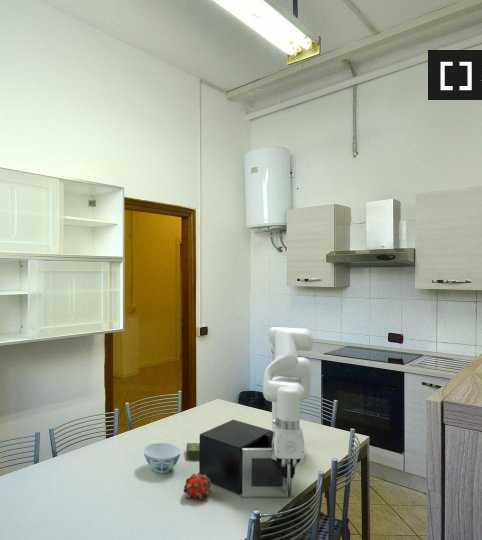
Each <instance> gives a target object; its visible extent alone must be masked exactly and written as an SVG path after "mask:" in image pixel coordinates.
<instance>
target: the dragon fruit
mask: <svg viewBox="0 0 482 540" xmlns="http://www.w3.org/2000/svg"><path fill="white" fill-rule="evenodd" d="M211 484H212V483H211V482H210V478H208V477H207V475H202V474H200V473H199V472H197V474H195V473H192V475H190V476H189V477H188V478H186V480H185V484H184V487H183V493H184V494H187V495H186V497H187V499H188V498H189V499H194V498H198V499H199V500H202V499H204V497H205V496H206V495H210V493H211V491H212V489H211V488H212V485H211Z"/></svg>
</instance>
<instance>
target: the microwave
mask: <svg viewBox="0 0 482 540" xmlns="http://www.w3.org/2000/svg"><path fill="white" fill-rule="evenodd" d="M273 434H274V432H273V431H272V429H269V428H264V427H261V426H258V425H253V424H250V423H247V422H243V421H239V420H236V419H231V420H228V421H227V422H224V423H222V424H220V425H217V426H215V427H213V428H211V429H209V430H205V431H203V432H202V433H199V443H200V447H199V460H198V461H199V462H198V464H199V465H198V473H200V474H202V475H207V477H208V478H210V482H211V483H210V484H212V485H213V484H214V485H216V486H218V487H220V488H222V489H225V490H227V491H229V492H231V493H234V494H237V495H239V496H240V495H242V448H272V442H273Z"/></svg>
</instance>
